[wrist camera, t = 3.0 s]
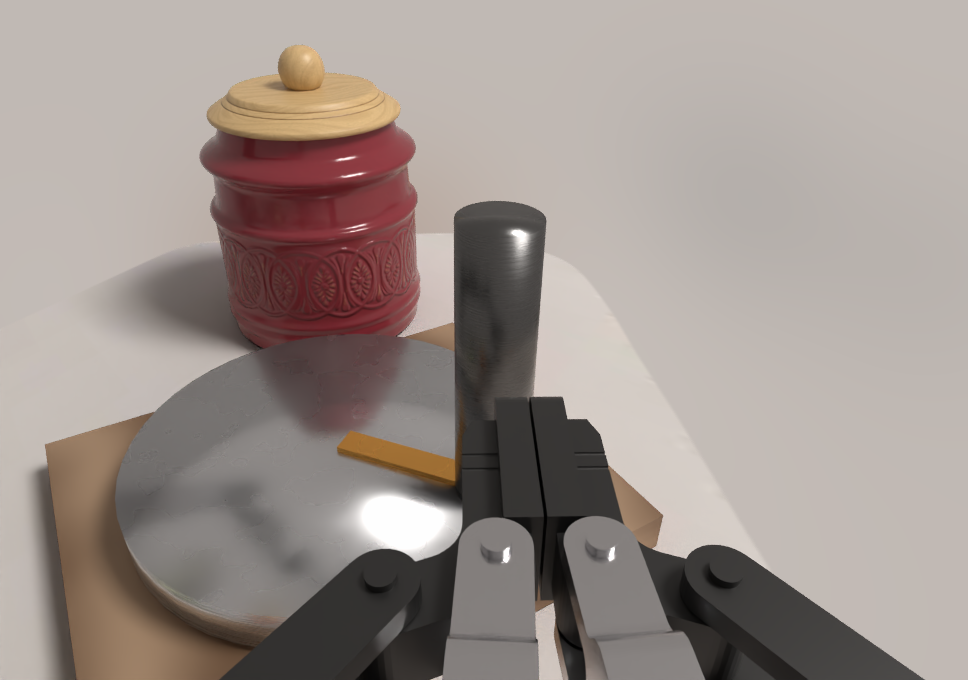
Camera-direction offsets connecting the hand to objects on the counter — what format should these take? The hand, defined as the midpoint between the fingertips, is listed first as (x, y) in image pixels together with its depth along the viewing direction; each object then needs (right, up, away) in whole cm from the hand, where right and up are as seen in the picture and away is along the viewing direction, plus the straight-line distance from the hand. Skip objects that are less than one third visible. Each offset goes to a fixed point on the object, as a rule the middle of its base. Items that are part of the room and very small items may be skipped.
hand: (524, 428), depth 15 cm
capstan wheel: (-8, -4, +17) cm, 19 cm away
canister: (-12, +4, +34) cm, 36 cm away
